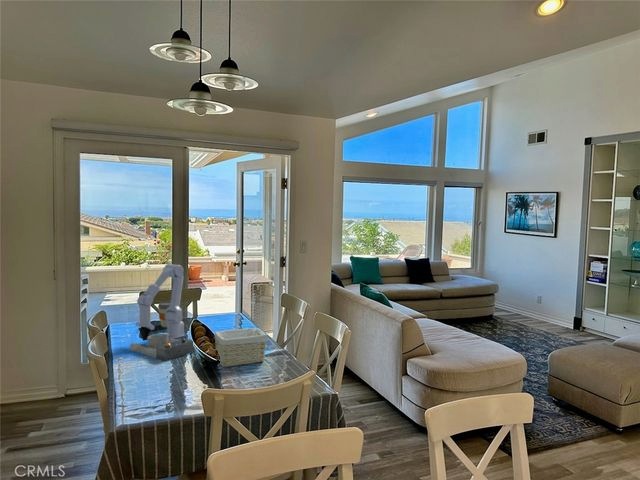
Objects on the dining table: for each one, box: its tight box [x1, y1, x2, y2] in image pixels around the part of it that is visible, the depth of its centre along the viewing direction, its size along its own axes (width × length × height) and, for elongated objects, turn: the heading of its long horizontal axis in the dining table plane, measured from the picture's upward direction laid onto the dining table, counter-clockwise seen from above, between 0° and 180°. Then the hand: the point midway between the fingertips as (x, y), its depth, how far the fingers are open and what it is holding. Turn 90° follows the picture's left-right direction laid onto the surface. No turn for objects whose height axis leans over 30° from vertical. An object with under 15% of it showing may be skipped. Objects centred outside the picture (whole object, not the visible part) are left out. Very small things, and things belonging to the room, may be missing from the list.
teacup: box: [147, 333, 171, 348], centre depth 233 cm, size 14×11×8 cm
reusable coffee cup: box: [157, 300, 171, 328], centre depth 282 cm, size 13×13×15 cm
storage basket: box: [214, 327, 268, 368], centre depth 218 cm, size 24×16×15 cm
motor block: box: [129, 338, 194, 362], centre depth 231 cm, size 22×28×7 cm
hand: (145, 340), depth 240 cm, fingers closed
